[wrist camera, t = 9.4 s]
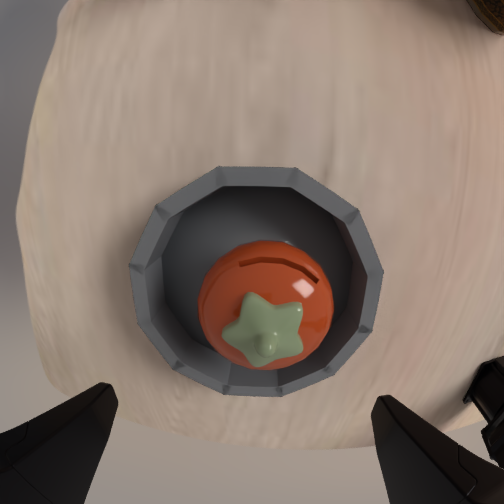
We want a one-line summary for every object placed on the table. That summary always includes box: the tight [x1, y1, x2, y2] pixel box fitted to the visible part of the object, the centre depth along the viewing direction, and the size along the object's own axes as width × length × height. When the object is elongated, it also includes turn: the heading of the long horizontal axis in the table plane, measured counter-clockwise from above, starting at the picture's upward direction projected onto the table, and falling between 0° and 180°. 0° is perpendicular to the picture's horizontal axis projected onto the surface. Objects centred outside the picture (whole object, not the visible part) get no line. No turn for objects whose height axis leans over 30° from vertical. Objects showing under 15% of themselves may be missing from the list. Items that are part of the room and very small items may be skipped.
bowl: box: [129, 166, 384, 397], centre depth 17 cm, size 15×15×4 cm
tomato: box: [197, 240, 334, 371], centre depth 15 cm, size 7×7×8 cm
